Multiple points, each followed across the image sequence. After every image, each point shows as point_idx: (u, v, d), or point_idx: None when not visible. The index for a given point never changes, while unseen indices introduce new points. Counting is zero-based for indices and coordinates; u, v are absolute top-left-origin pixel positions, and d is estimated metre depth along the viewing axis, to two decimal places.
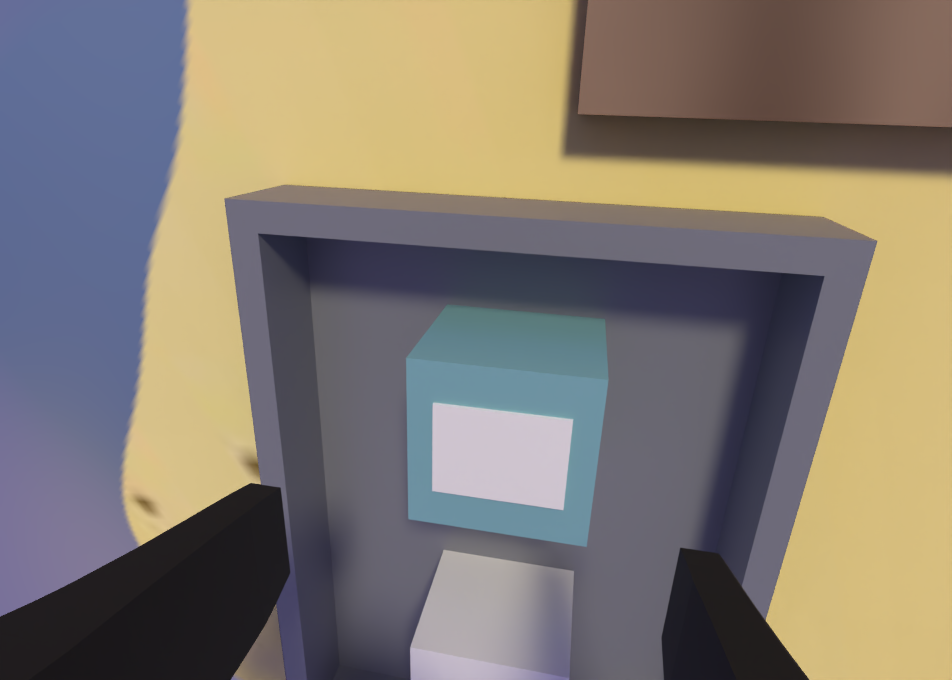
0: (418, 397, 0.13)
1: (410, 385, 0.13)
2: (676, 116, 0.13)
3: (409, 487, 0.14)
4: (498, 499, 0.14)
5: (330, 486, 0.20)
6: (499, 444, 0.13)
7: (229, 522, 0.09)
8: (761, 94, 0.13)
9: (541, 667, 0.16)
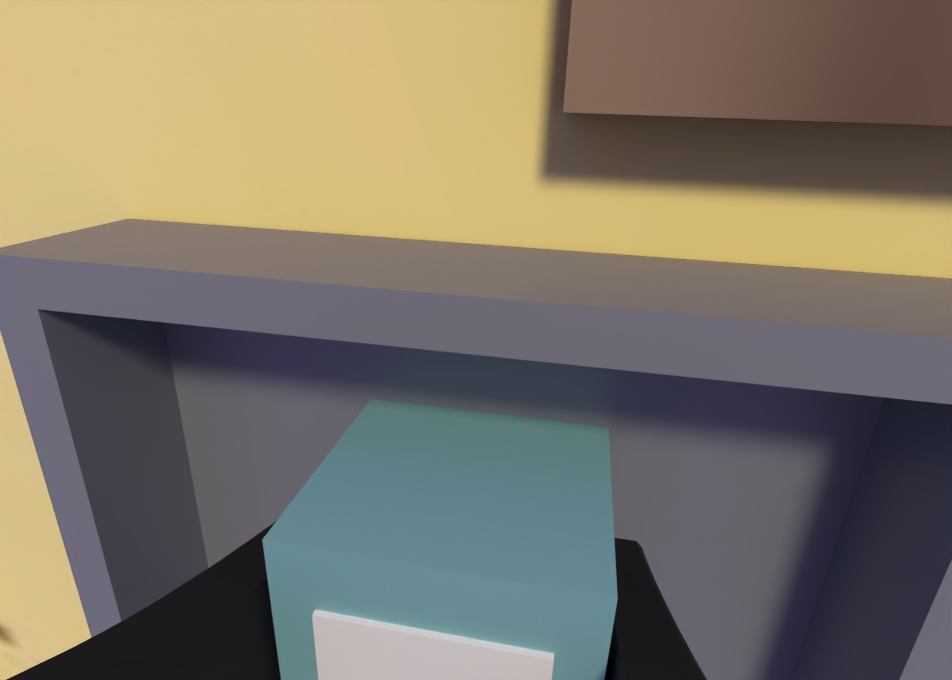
0: (288, 599, 0.08)
1: (274, 580, 0.08)
2: (733, 116, 0.08)
3: None
4: None
5: None
6: (429, 679, 0.08)
7: None
8: (888, 77, 0.07)
9: None
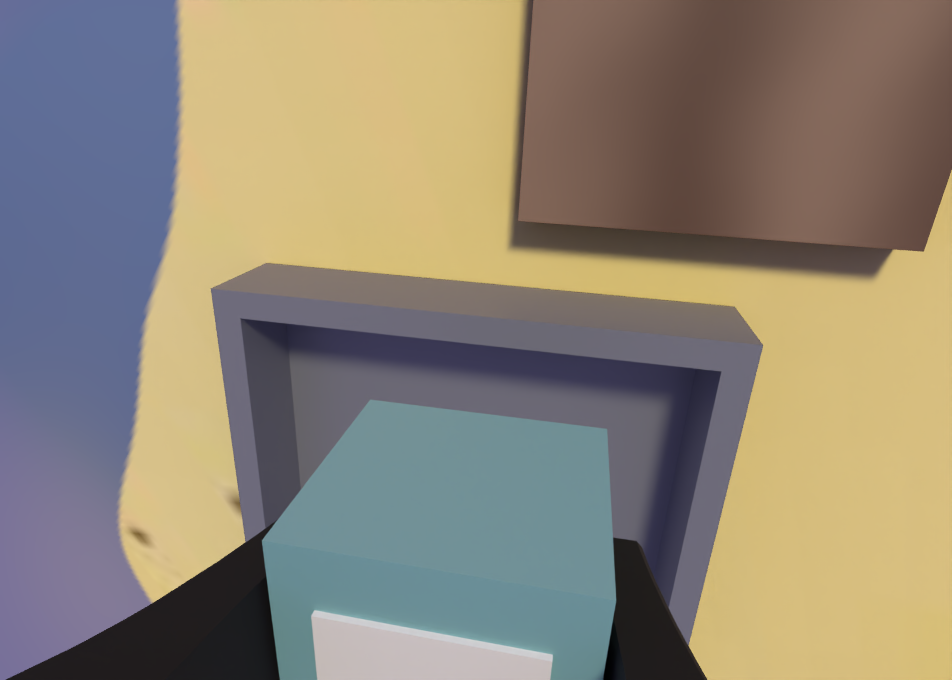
0: (287, 600, 0.08)
1: (274, 581, 0.08)
2: (601, 226, 0.15)
3: None
4: None
5: None
6: None
7: None
8: (672, 211, 0.15)
9: None
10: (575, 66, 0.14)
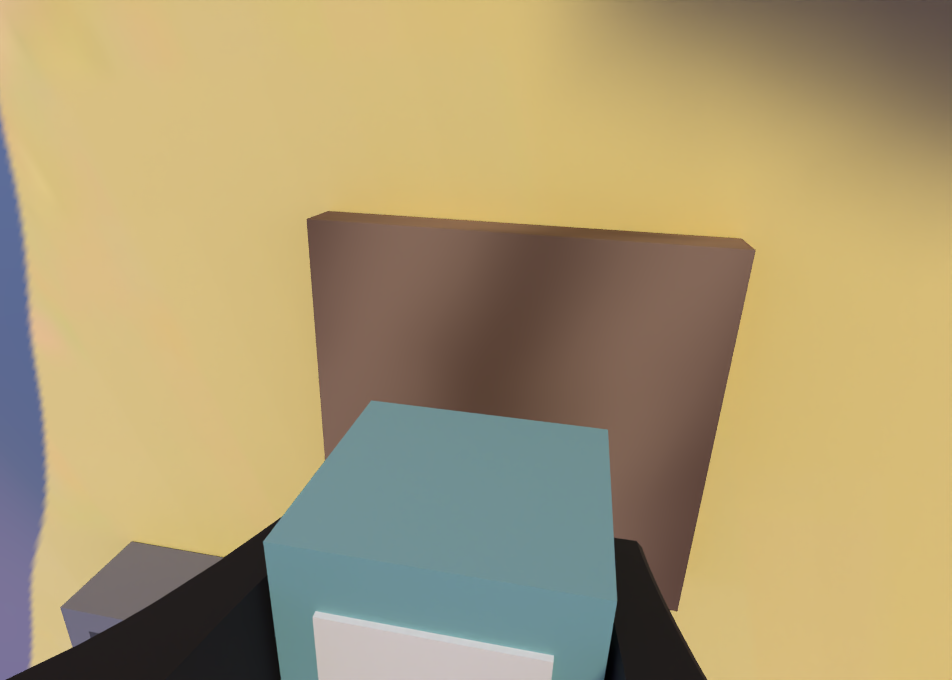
0: (288, 601, 0.08)
1: (275, 582, 0.08)
2: None
3: None
4: None
5: None
6: None
7: None
8: None
9: None
10: None
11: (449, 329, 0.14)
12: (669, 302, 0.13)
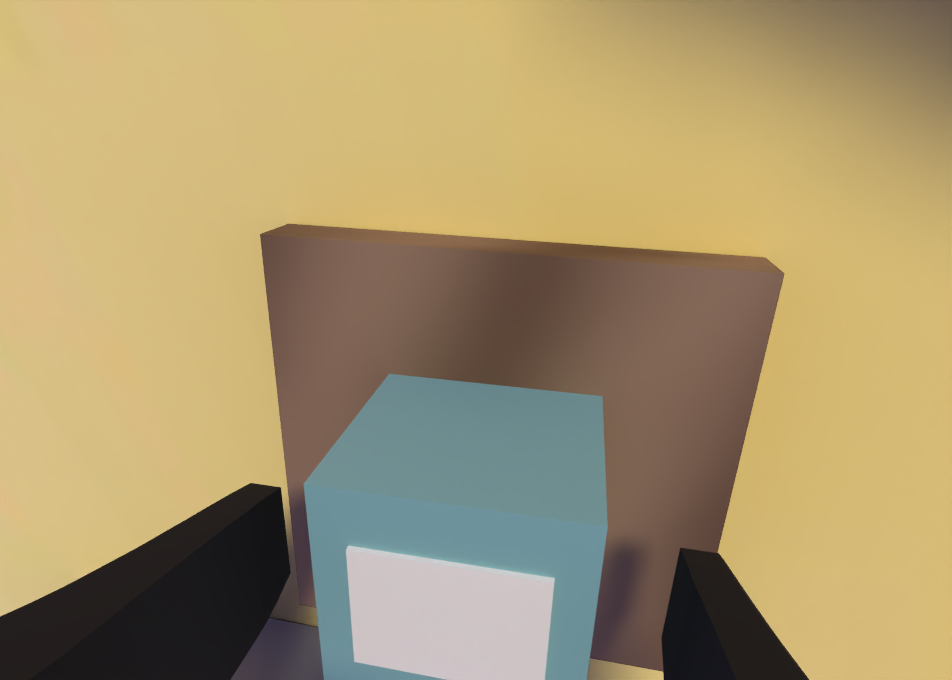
0: (324, 537, 0.09)
1: (313, 520, 0.09)
2: None
3: (323, 652, 0.10)
4: (449, 677, 0.10)
5: None
6: (447, 606, 0.09)
7: (229, 523, 0.09)
8: None
9: None
10: None
11: (426, 361, 0.12)
12: (681, 333, 0.11)
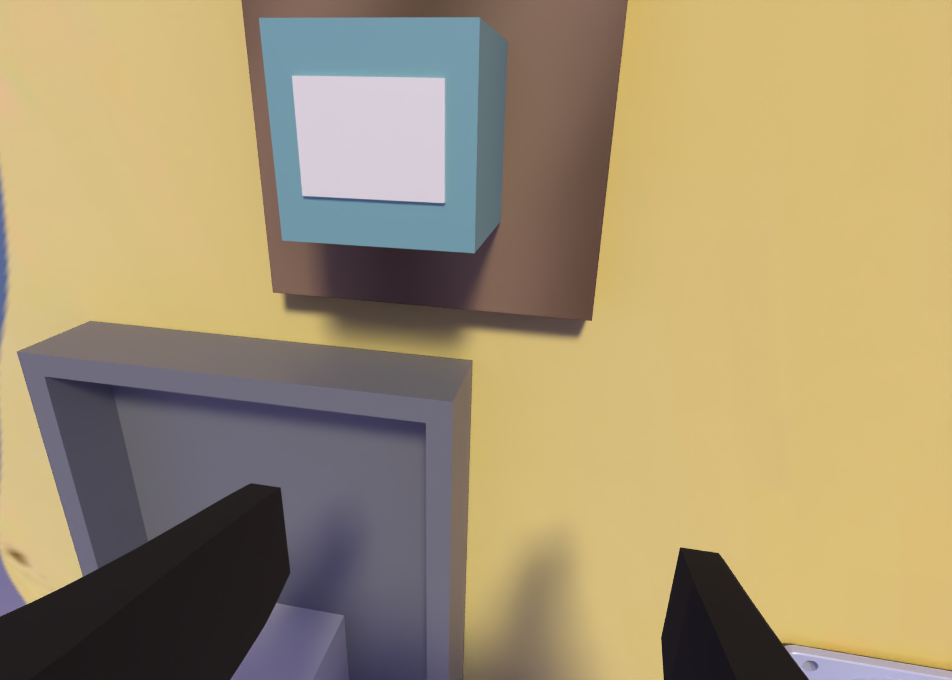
0: (276, 70, 0.12)
1: (267, 54, 0.12)
2: (339, 297, 0.18)
3: (279, 197, 0.13)
4: (374, 198, 0.12)
5: None
6: (369, 124, 0.12)
7: (229, 523, 0.09)
8: (392, 286, 0.17)
9: None
10: None
11: None
12: None
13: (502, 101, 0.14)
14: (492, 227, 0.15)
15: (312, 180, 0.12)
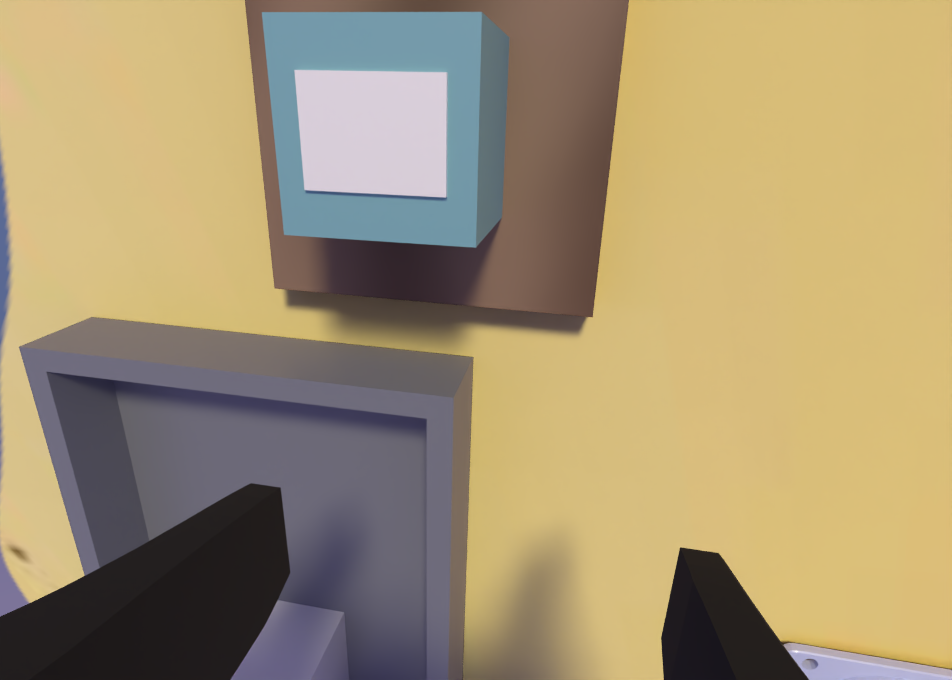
0: (279, 65, 0.12)
1: (269, 49, 0.12)
2: (340, 293, 0.18)
3: (281, 191, 0.13)
4: (376, 193, 0.12)
5: None
6: (372, 119, 0.12)
7: (229, 523, 0.09)
8: (393, 282, 0.17)
9: None
10: None
11: None
12: None
13: (504, 97, 0.14)
14: (493, 223, 0.15)
15: (314, 174, 0.12)
